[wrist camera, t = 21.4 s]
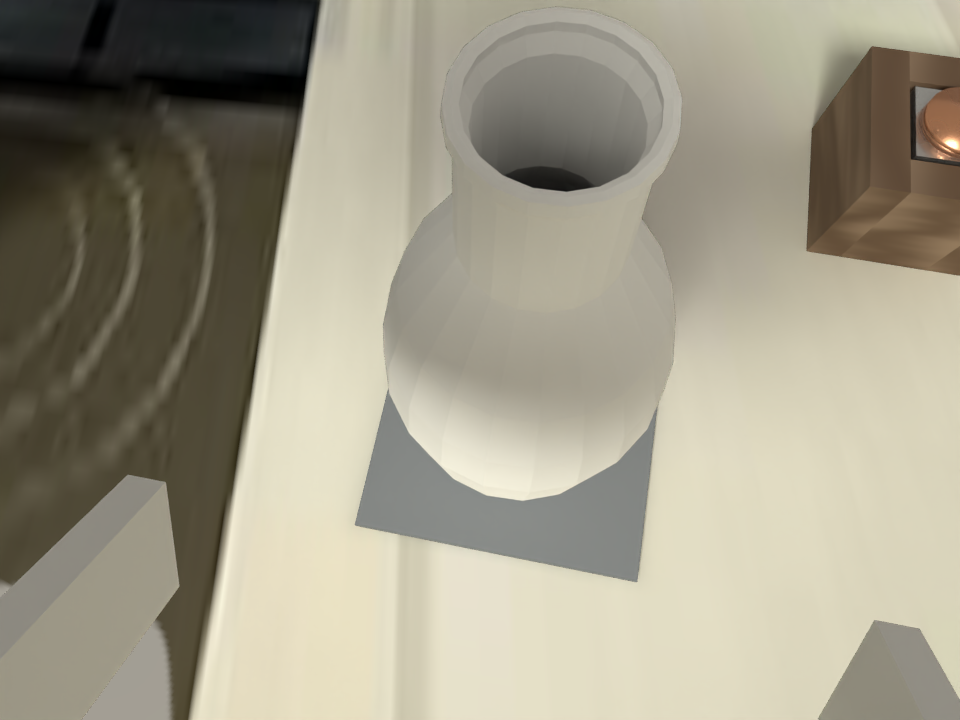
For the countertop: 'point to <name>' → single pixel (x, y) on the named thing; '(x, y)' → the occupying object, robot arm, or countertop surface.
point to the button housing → (883, 170)
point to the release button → (935, 125)
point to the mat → (509, 507)
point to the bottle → (540, 259)
